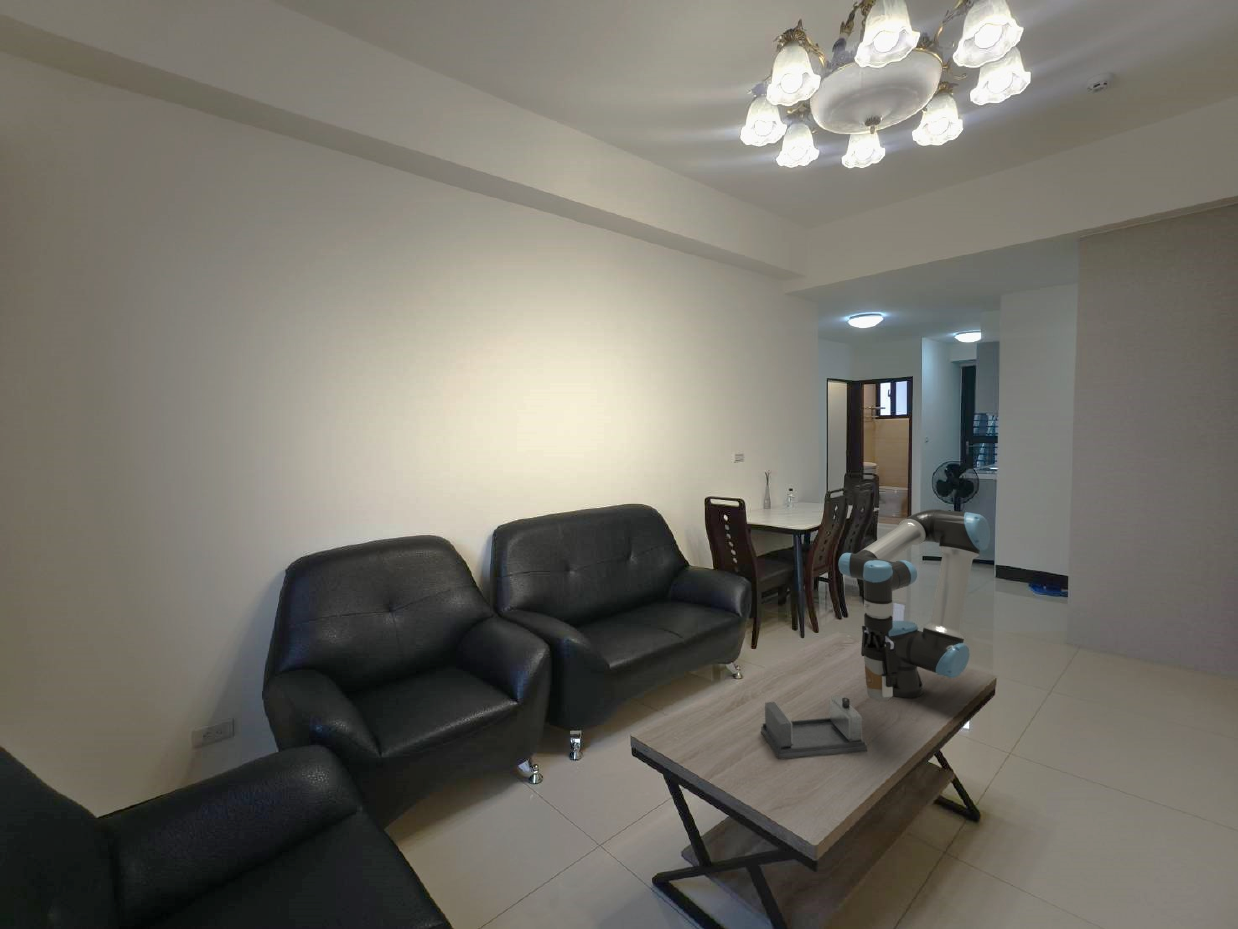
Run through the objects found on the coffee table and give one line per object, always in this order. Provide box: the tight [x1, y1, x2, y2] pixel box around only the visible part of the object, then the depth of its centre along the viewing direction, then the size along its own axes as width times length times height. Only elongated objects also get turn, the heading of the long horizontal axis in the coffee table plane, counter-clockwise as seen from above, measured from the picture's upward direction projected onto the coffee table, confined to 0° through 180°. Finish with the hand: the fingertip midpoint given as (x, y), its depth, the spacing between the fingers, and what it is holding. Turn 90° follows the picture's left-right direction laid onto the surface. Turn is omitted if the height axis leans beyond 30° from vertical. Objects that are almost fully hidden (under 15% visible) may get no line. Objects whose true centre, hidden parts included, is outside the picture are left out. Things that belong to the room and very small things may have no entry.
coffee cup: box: [863, 643, 892, 702], centre depth 159 cm, size 8×8×15 cm
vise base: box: [760, 701, 868, 760], centre depth 159 cm, size 26×14×10 cm, turn 96°
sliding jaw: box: [829, 695, 863, 742], centre depth 160 cm, size 4×12×10 cm, turn 6°
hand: (879, 689), depth 159 cm, fingers closed on coffee cup, 7 cm apart
